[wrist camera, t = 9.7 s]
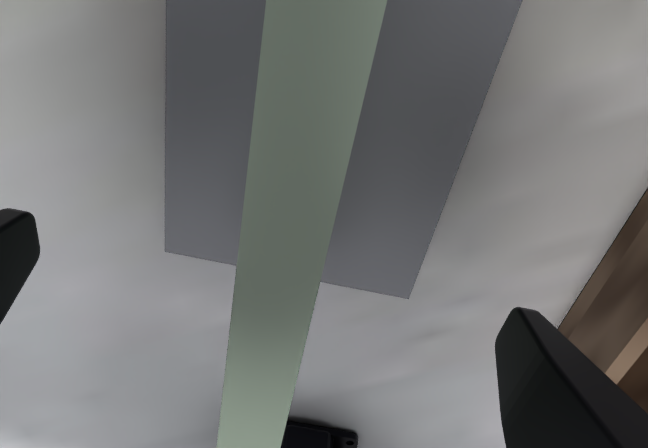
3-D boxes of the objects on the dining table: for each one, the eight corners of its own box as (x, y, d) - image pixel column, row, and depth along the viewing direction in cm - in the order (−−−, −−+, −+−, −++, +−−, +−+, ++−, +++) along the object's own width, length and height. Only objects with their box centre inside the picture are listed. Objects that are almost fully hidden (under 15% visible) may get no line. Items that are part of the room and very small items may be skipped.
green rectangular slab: (311, 244, 22) (273, 479, 13) (277, 237, 22) (214, 468, 13) (391, -125, 15) (433, -191, 5) (338, -137, 14) (291, -224, 5)
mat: (407, 292, 24) (408, 298, 24) (168, 245, 23) (164, 251, 23) (578, -163, 14) (585, -164, 14) (173, -258, 14) (167, -263, 13)
